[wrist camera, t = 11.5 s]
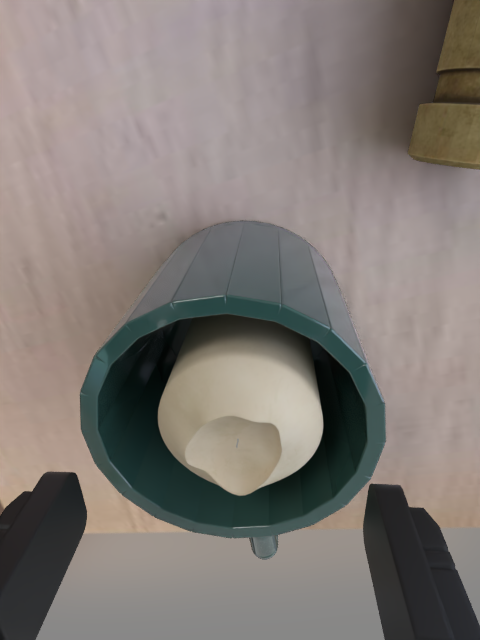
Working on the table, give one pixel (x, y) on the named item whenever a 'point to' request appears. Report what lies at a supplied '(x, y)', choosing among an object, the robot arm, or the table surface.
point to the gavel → (453, 96)
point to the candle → (242, 402)
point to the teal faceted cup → (160, 356)
